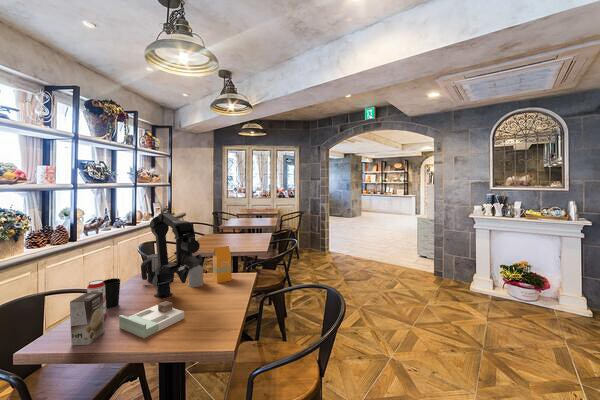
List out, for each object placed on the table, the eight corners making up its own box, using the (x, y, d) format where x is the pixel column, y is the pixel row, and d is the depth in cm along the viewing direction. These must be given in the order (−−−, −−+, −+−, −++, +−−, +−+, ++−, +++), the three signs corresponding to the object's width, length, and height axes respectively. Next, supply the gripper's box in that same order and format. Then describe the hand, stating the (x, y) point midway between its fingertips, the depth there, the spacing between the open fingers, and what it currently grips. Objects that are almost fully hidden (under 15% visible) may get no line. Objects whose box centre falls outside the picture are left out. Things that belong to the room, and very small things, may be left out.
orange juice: (231, 280, 171) (231, 247, 169) (217, 283, 166) (216, 249, 164) (227, 276, 177) (226, 244, 176) (212, 279, 172) (212, 246, 171)
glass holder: (187, 288, 158) (187, 261, 157) (187, 279, 171) (187, 255, 170) (204, 286, 161) (203, 259, 160) (203, 278, 175) (202, 253, 174)
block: (158, 311, 123) (158, 304, 123) (166, 307, 127) (166, 300, 127) (164, 313, 121) (164, 306, 121) (172, 309, 125) (172, 302, 125)
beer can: (87, 323, 118) (85, 285, 117) (90, 317, 124) (88, 280, 123) (105, 320, 121) (103, 283, 120) (107, 314, 127) (105, 278, 126)
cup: (111, 310, 131) (110, 284, 130) (97, 308, 132) (96, 283, 131) (125, 303, 138) (124, 278, 137) (111, 301, 140) (110, 277, 139)
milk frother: (153, 277, 176) (152, 253, 175) (178, 277, 175) (177, 253, 174) (138, 285, 162) (137, 259, 161) (165, 286, 161) (165, 260, 160)
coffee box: (89, 345, 103) (87, 301, 102) (70, 345, 102) (68, 302, 101) (105, 331, 112) (103, 291, 111) (87, 332, 111) (85, 292, 110)
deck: (119, 327, 115) (118, 315, 115) (159, 310, 131) (159, 299, 130) (144, 338, 107) (143, 325, 107) (184, 318, 123) (183, 306, 123)
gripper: (178, 256, 119) (179, 293, 120) (211, 247, 135) (211, 279, 136) (160, 253, 124) (161, 288, 125) (194, 244, 140) (194, 276, 141)
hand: (183, 283), depth 132 cm, fingers closed
